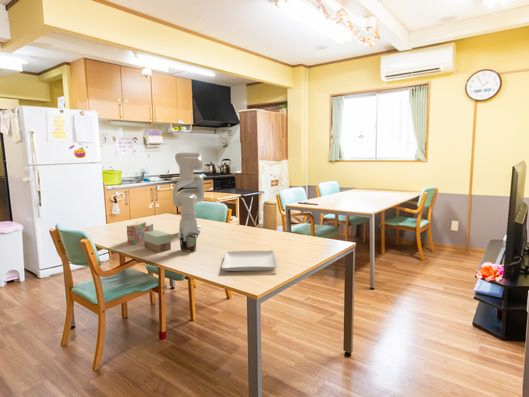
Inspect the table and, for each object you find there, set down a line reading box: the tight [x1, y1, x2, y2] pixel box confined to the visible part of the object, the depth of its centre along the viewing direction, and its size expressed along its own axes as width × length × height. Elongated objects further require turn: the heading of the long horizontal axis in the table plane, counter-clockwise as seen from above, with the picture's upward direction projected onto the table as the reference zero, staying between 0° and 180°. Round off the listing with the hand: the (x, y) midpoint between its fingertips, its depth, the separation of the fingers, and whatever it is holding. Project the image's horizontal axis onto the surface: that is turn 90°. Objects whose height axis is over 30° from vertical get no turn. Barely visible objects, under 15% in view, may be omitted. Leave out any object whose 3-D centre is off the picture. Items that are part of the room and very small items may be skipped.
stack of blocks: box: [126, 221, 155, 246], centre depth 223 cm, size 21×6×12 cm, turn 168°
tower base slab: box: [143, 241, 172, 254], centre depth 204 cm, size 9×15×5 cm, turn 47°
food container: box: [178, 234, 199, 253], centre depth 201 cm, size 12×6×10 cm, turn 68°
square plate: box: [221, 250, 278, 272], centre depth 175 cm, size 27×27×4 cm
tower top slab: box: [144, 229, 172, 245], centre depth 203 cm, size 9×15×5 cm, turn 48°
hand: (189, 246), depth 201 cm, fingers closed on food container, 6 cm apart
